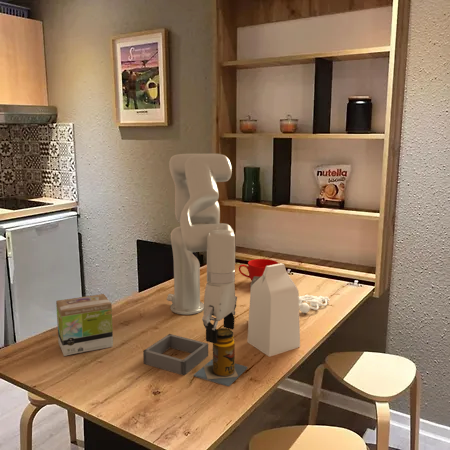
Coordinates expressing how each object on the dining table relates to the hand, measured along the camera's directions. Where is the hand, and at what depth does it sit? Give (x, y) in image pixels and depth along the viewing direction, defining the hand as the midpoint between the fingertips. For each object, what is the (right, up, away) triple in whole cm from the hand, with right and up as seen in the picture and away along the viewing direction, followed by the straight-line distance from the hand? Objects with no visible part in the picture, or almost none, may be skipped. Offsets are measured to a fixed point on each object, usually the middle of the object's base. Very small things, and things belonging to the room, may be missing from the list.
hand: (220, 334), depth 133 cm
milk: (+17, -7, +19) cm, 26 cm away
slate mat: (0, -11, +2) cm, 11 cm away
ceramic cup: (+16, +4, +74) cm, 76 cm away
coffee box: (+14, -4, +34) cm, 37 cm away
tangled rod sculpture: (+32, -1, +52) cm, 61 cm away
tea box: (-42, -8, +18) cm, 47 cm away
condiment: (0, -11, +1) cm, 11 cm away
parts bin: (-13, -9, +9) cm, 18 cm away
